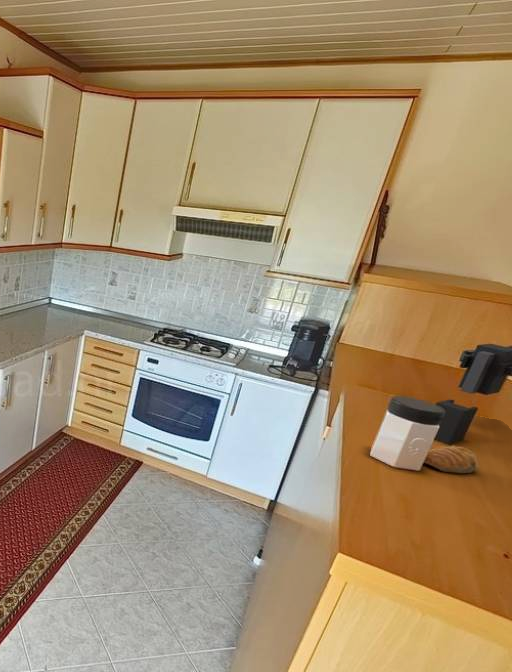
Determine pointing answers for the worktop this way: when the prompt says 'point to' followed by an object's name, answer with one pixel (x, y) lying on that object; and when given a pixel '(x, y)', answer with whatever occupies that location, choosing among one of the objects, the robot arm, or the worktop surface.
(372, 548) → the worktop surface
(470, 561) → the worktop surface
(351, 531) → the worktop surface
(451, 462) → the pastry
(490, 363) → the block
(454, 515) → the worktop surface
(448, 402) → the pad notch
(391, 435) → the jar
